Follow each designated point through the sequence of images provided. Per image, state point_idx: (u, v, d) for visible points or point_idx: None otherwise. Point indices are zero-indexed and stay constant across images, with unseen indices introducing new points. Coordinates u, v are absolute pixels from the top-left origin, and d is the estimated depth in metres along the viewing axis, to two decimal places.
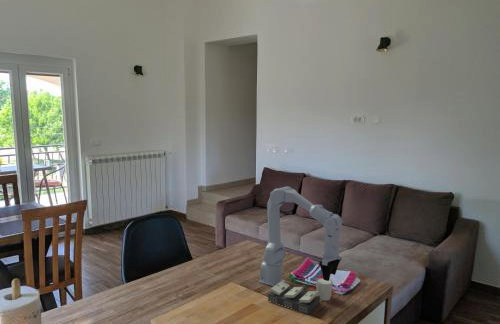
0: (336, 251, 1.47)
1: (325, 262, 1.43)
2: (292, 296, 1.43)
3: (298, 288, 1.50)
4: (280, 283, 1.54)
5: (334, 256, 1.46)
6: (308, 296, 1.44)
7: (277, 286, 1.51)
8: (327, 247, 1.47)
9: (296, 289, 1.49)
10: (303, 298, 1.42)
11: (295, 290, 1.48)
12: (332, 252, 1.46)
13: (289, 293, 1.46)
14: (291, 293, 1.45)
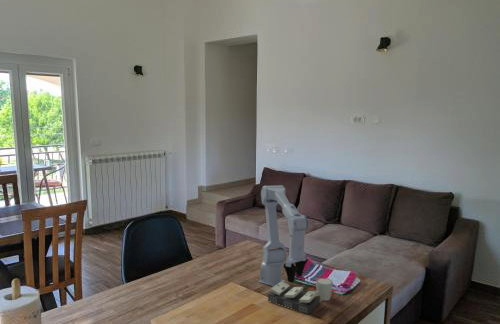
0: (301, 252, 1.44)
1: (289, 263, 1.40)
2: (292, 296, 1.43)
3: (298, 288, 1.50)
4: (280, 283, 1.54)
5: (299, 257, 1.44)
6: (308, 296, 1.44)
7: (277, 286, 1.51)
8: (292, 248, 1.44)
9: (296, 289, 1.49)
10: (303, 298, 1.42)
11: (295, 290, 1.48)
12: (297, 253, 1.43)
13: (289, 293, 1.46)
14: (291, 293, 1.45)
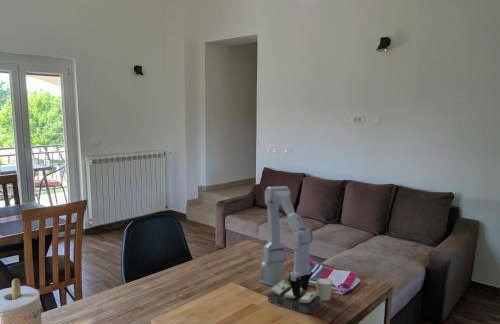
0: (306, 266, 1.43)
1: (294, 278, 1.39)
2: (292, 296, 1.43)
3: None
4: (280, 283, 1.54)
5: (304, 271, 1.43)
6: (308, 296, 1.44)
7: (277, 286, 1.51)
8: (296, 262, 1.43)
9: None
10: (303, 298, 1.42)
11: None
12: (301, 267, 1.43)
13: (289, 293, 1.46)
14: (291, 293, 1.45)
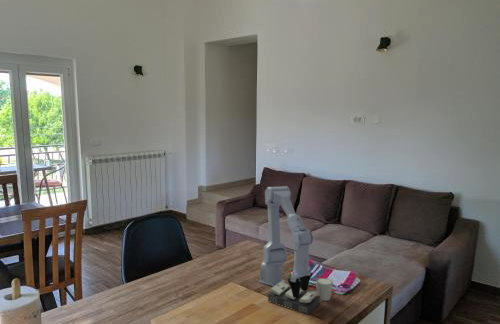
0: (305, 267, 1.43)
1: (293, 279, 1.39)
2: (292, 298, 1.43)
3: None
4: (280, 283, 1.54)
5: (303, 272, 1.43)
6: (308, 296, 1.44)
7: (277, 286, 1.51)
8: (296, 263, 1.43)
9: None
10: (303, 298, 1.42)
11: None
12: (301, 268, 1.43)
13: (290, 293, 1.46)
14: (292, 294, 1.45)
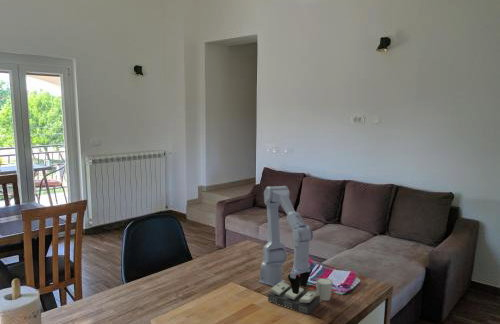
0: (305, 263, 1.43)
1: (293, 275, 1.39)
2: (292, 298, 1.43)
3: (299, 289, 1.50)
4: (280, 283, 1.54)
5: (303, 268, 1.43)
6: (308, 296, 1.44)
7: (277, 286, 1.51)
8: (296, 259, 1.43)
9: None
10: (303, 298, 1.42)
11: None
12: (301, 264, 1.43)
13: (290, 293, 1.46)
14: (292, 294, 1.45)
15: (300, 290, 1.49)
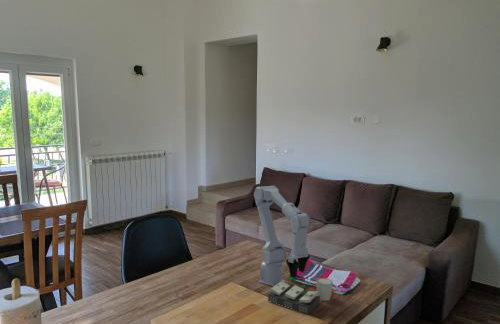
0: (303, 249, 1.49)
1: (291, 259, 1.45)
2: (292, 298, 1.43)
3: (299, 289, 1.50)
4: (280, 283, 1.54)
5: (301, 254, 1.49)
6: (308, 296, 1.44)
7: (277, 286, 1.51)
8: (294, 245, 1.49)
9: (297, 290, 1.49)
10: (303, 298, 1.42)
11: (296, 291, 1.48)
12: (299, 250, 1.49)
13: (290, 293, 1.46)
14: (292, 294, 1.45)
15: (300, 290, 1.49)
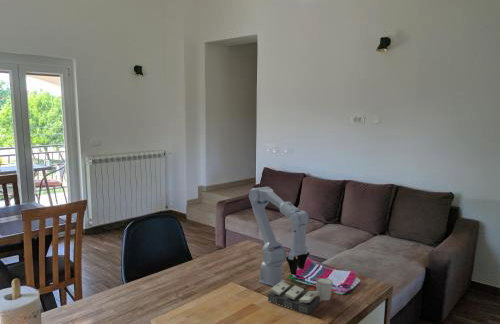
0: (302, 246, 1.51)
1: (291, 256, 1.48)
2: (292, 298, 1.43)
3: (299, 289, 1.50)
4: (280, 283, 1.54)
5: (301, 251, 1.51)
6: (308, 296, 1.44)
7: (277, 286, 1.51)
8: (294, 242, 1.52)
9: (297, 290, 1.49)
10: (303, 298, 1.42)
11: (296, 291, 1.48)
12: (298, 247, 1.51)
13: (290, 293, 1.46)
14: (292, 294, 1.45)
15: (300, 290, 1.49)
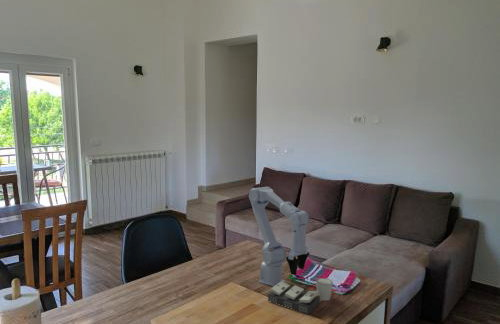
0: (302, 246, 1.51)
1: (291, 256, 1.48)
2: (292, 298, 1.43)
3: (299, 289, 1.50)
4: (280, 283, 1.54)
5: (301, 251, 1.51)
6: (308, 296, 1.44)
7: (277, 286, 1.51)
8: (294, 242, 1.52)
9: (297, 290, 1.49)
10: (303, 298, 1.42)
11: (296, 291, 1.48)
12: (298, 247, 1.51)
13: (290, 293, 1.46)
14: (292, 294, 1.45)
15: (300, 290, 1.49)
